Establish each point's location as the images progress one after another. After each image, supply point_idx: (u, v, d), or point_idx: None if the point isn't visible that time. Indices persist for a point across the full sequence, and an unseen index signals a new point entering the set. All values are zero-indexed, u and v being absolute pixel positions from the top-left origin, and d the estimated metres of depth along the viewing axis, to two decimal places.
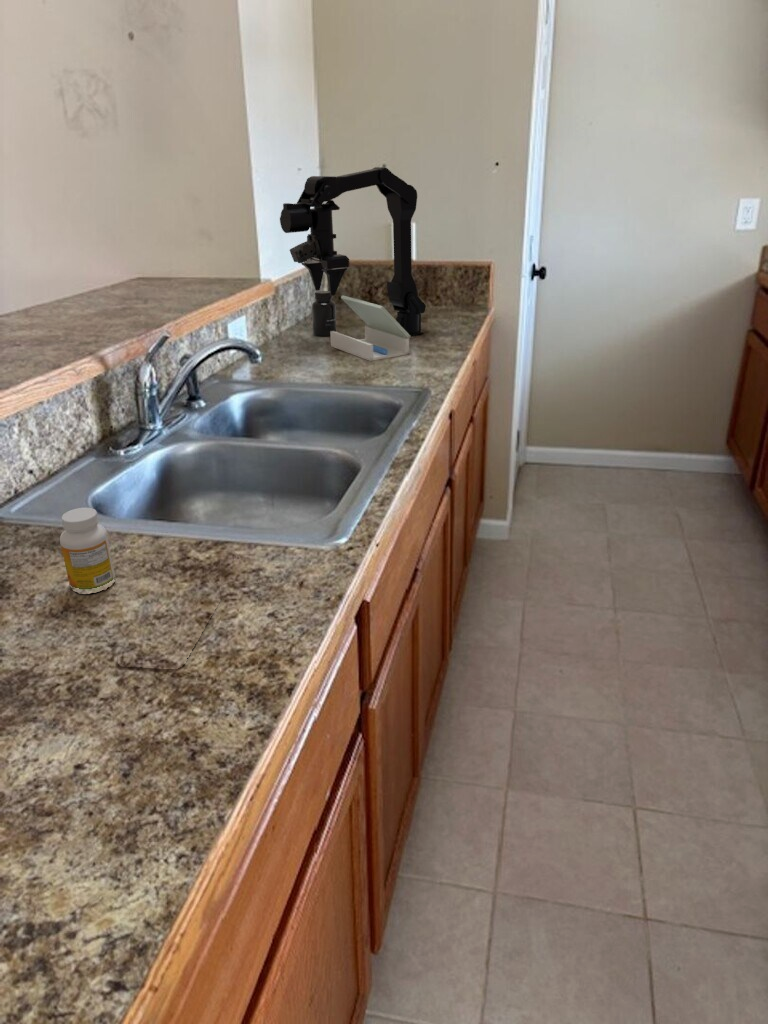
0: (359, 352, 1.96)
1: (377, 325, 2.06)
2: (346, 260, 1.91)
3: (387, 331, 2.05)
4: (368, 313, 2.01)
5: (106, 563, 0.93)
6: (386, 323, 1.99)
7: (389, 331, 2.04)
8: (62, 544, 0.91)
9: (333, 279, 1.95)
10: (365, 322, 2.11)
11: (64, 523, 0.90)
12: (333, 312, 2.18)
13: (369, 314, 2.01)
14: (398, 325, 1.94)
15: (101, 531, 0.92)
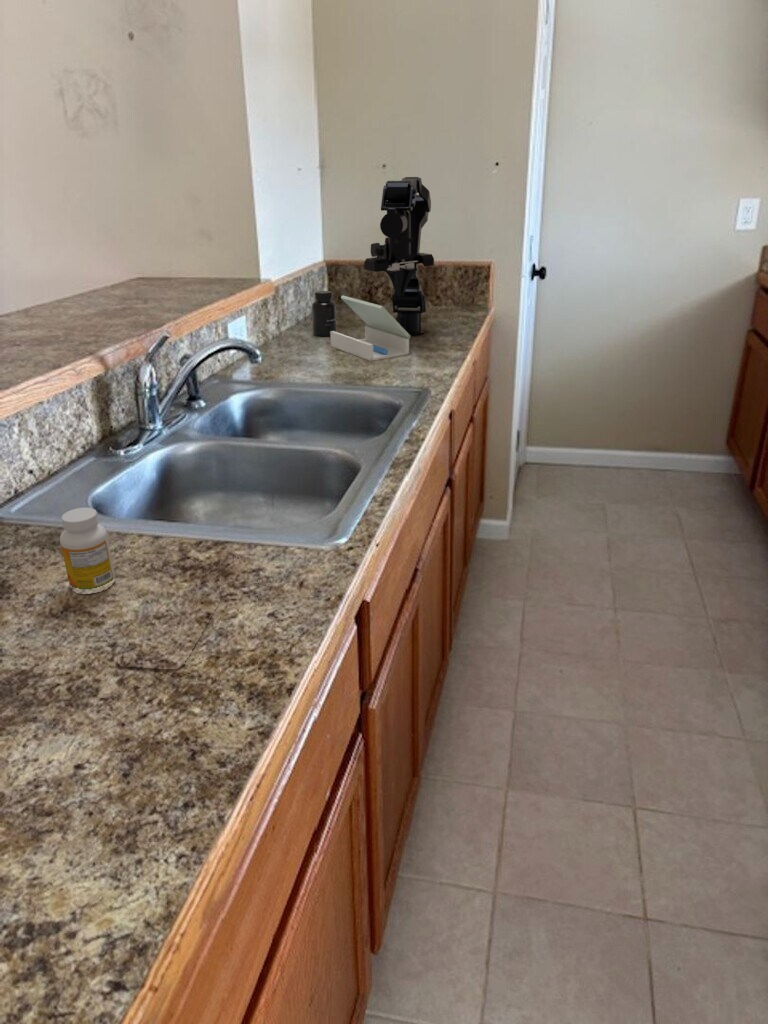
0: (359, 352, 1.96)
1: (377, 325, 2.06)
2: (373, 264, 1.93)
3: (387, 331, 2.05)
4: (368, 313, 2.01)
5: (106, 563, 0.93)
6: (386, 323, 1.99)
7: (389, 331, 2.04)
8: (62, 544, 0.91)
9: (394, 280, 2.01)
10: (365, 322, 2.11)
11: (64, 523, 0.90)
12: (333, 312, 2.18)
13: (369, 314, 2.01)
14: (398, 325, 1.94)
15: (101, 531, 0.92)
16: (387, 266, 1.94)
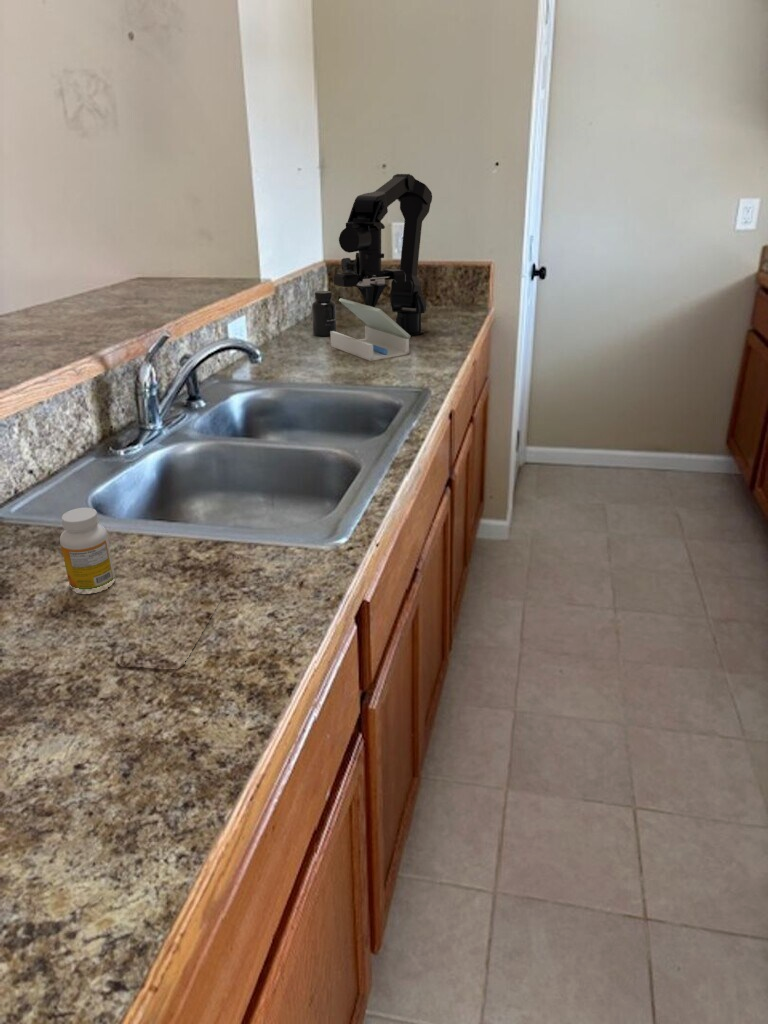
0: (359, 352, 1.96)
1: (377, 325, 2.06)
2: (342, 279, 1.90)
3: (387, 331, 2.05)
4: (367, 315, 2.01)
5: (106, 563, 0.93)
6: (385, 324, 1.98)
7: (389, 331, 2.04)
8: (62, 544, 0.91)
9: (365, 296, 1.98)
10: (365, 322, 2.11)
11: (64, 523, 0.90)
12: (333, 312, 2.18)
13: (368, 316, 2.01)
14: (397, 326, 1.94)
15: (101, 531, 0.92)
16: (357, 281, 1.91)
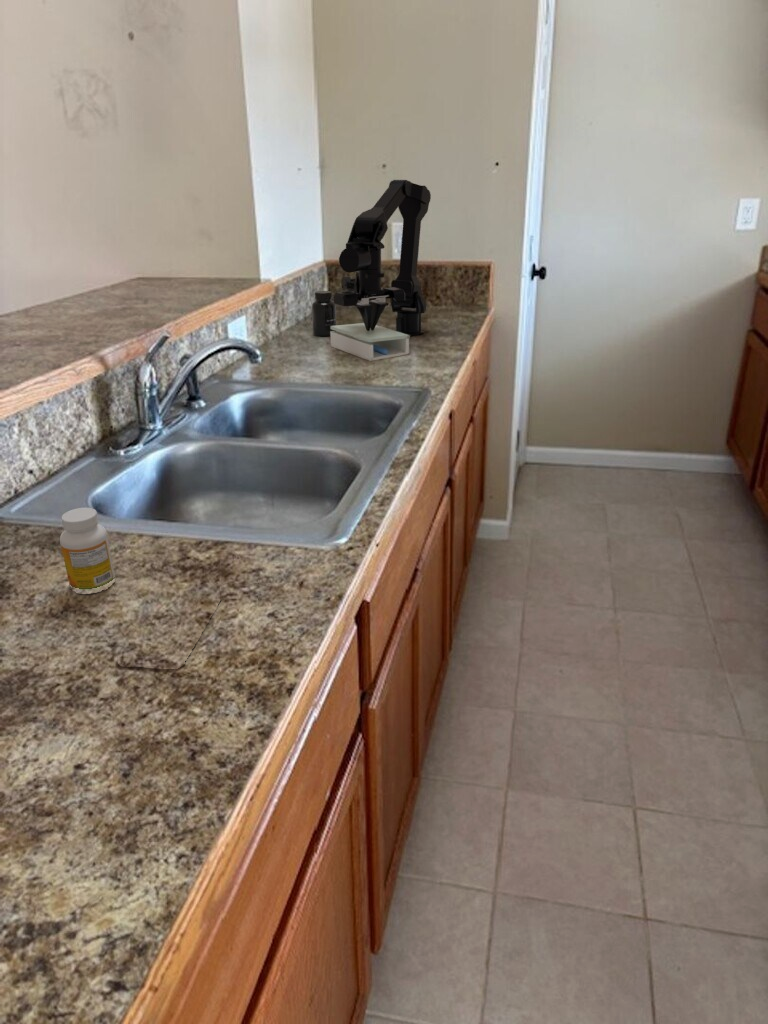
0: (359, 352, 1.96)
1: None
2: (342, 299, 1.92)
3: None
4: None
5: (106, 563, 0.93)
6: None
7: None
8: (62, 544, 0.91)
9: (364, 315, 1.99)
10: None
11: (64, 523, 0.90)
12: (333, 312, 2.18)
13: None
14: (393, 338, 1.95)
15: (101, 531, 0.92)
16: (357, 301, 1.93)
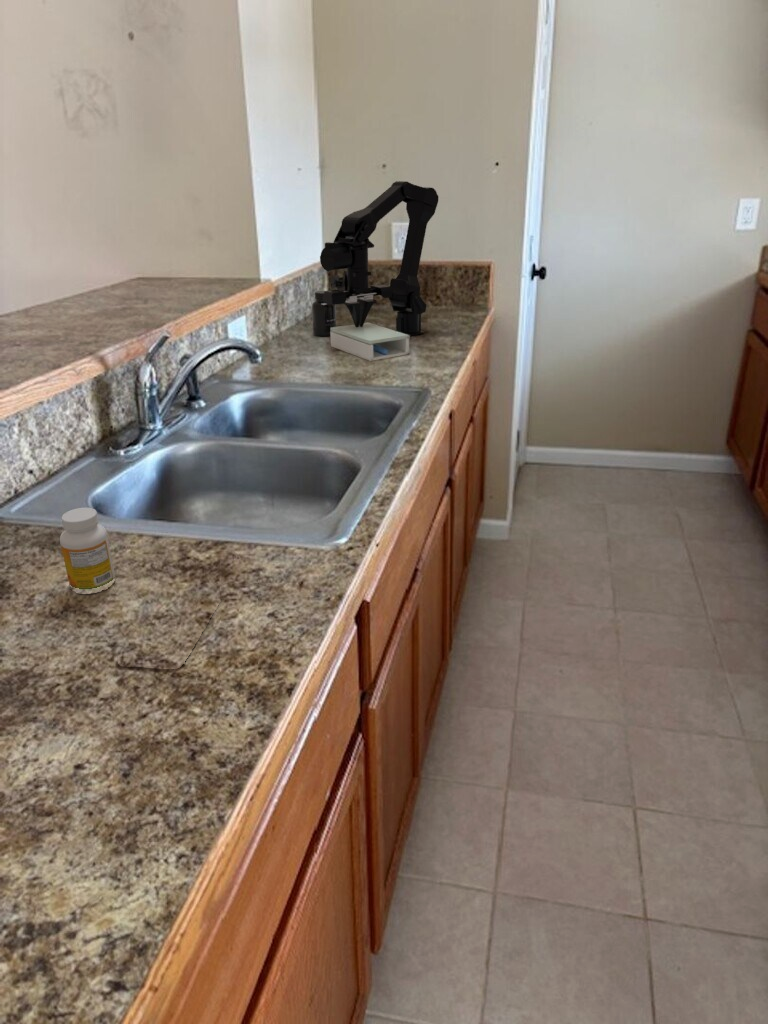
0: (359, 352, 1.96)
1: None
2: (331, 297, 1.97)
3: None
4: None
5: (106, 563, 0.93)
6: None
7: None
8: (62, 544, 0.91)
9: (352, 312, 2.05)
10: None
11: (64, 523, 0.90)
12: (333, 312, 2.18)
13: None
14: (393, 339, 1.95)
15: (101, 531, 0.92)
16: (345, 299, 1.98)
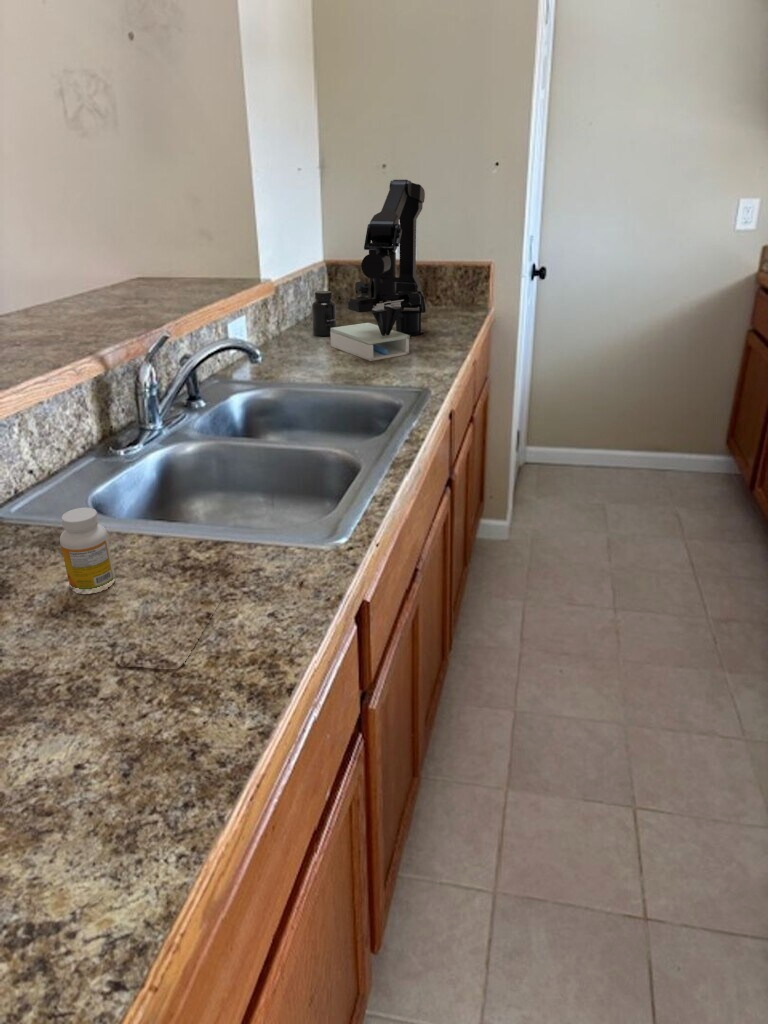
0: (359, 352, 1.96)
1: None
2: (357, 305, 1.87)
3: None
4: None
5: (106, 563, 0.93)
6: None
7: None
8: (62, 544, 0.91)
9: (379, 320, 1.95)
10: None
11: (64, 523, 0.90)
12: (333, 312, 2.18)
13: None
14: (393, 339, 1.95)
15: (101, 531, 0.92)
16: (372, 306, 1.89)
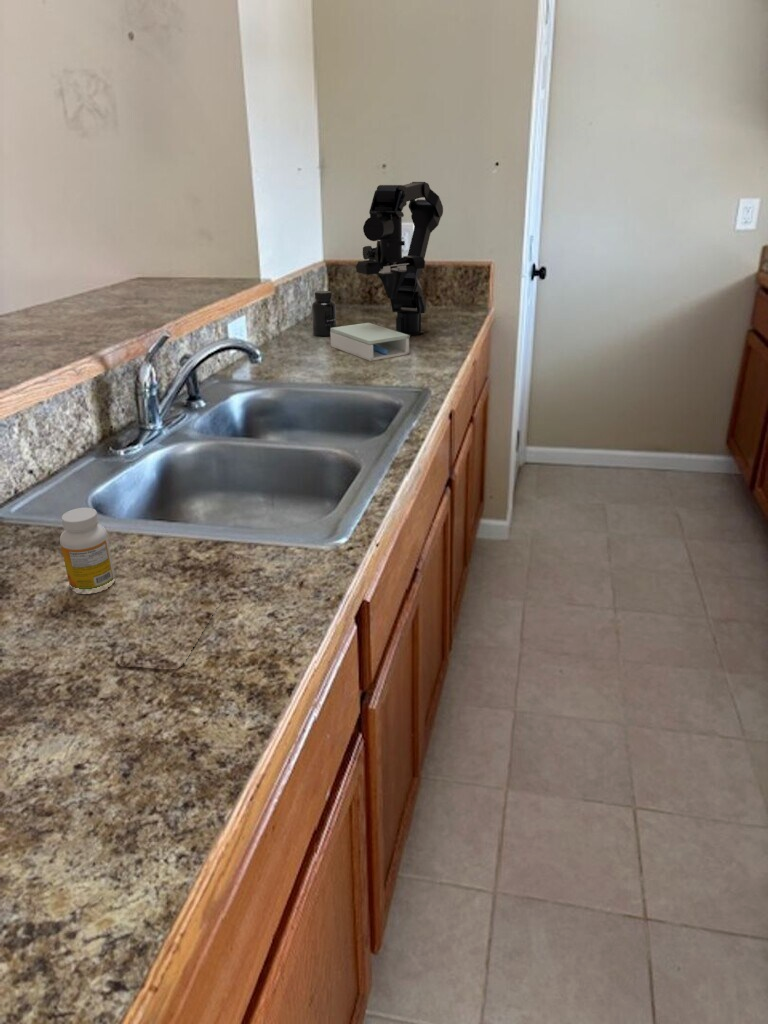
0: (359, 352, 1.96)
1: None
2: (365, 267, 1.97)
3: None
4: None
5: (106, 563, 0.93)
6: None
7: None
8: (62, 544, 0.91)
9: (385, 283, 2.04)
10: None
11: (64, 523, 0.90)
12: (333, 312, 2.18)
13: None
14: (393, 339, 1.95)
15: (101, 531, 0.92)
16: (379, 269, 1.98)
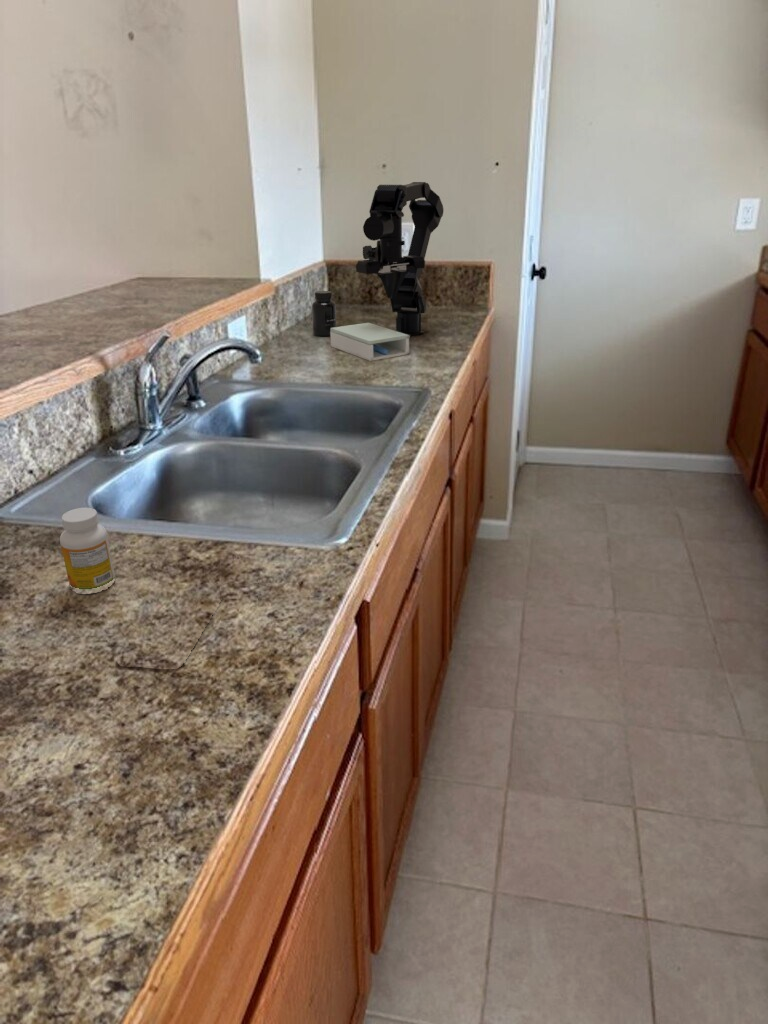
0: (359, 352, 1.96)
1: None
2: (365, 267, 1.97)
3: None
4: None
5: (106, 563, 0.93)
6: None
7: None
8: (62, 544, 0.91)
9: (385, 282, 2.04)
10: None
11: (64, 523, 0.90)
12: (333, 312, 2.18)
13: None
14: (393, 339, 1.95)
15: (101, 531, 0.92)
16: (379, 268, 1.98)
